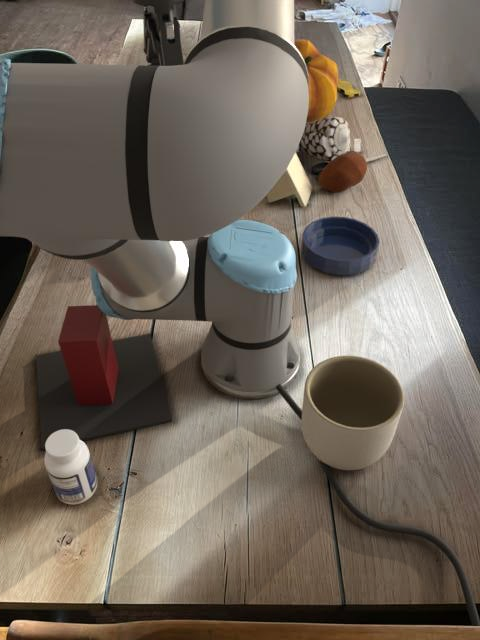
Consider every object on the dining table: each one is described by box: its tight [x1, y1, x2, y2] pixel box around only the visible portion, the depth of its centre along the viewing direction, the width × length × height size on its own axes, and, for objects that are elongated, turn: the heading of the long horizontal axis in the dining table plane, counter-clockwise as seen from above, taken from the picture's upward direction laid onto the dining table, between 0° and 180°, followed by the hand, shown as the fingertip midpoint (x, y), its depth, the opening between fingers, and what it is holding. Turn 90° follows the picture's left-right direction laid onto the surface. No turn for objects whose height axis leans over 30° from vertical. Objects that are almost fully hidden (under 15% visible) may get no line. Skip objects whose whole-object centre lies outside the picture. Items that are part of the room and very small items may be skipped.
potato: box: [317, 151, 368, 193], centre depth 131 cm, size 8×12×8 cm
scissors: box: [311, 153, 388, 178], centre depth 140 cm, size 7×1×20 cm
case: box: [57, 304, 119, 405], centre depth 86 cm, size 5×7×13 cm
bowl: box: [300, 216, 380, 276], centre depth 114 cm, size 14×14×4 cm
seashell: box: [298, 116, 351, 162], centre depth 141 cm, size 16×13×10 cm
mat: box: [35, 333, 173, 451], centre depth 91 cm, size 18×18×1 cm
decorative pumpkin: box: [294, 39, 339, 123], centre depth 141 cm, size 20×22×15 cm
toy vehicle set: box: [346, 138, 362, 153], centre depth 146 cm, size 12×4×2 cm
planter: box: [301, 355, 405, 471], centre depth 81 cm, size 12×12×11 cm
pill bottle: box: [43, 429, 98, 505], centre depth 76 cm, size 5×5×10 cm
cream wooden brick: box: [266, 152, 313, 208], centre depth 128 cm, size 8×7×13 cm
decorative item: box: [337, 78, 361, 98], centre depth 172 cm, size 11×1×5 cm
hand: (168, 125), depth 91 cm, fingers open, 13 cm apart
